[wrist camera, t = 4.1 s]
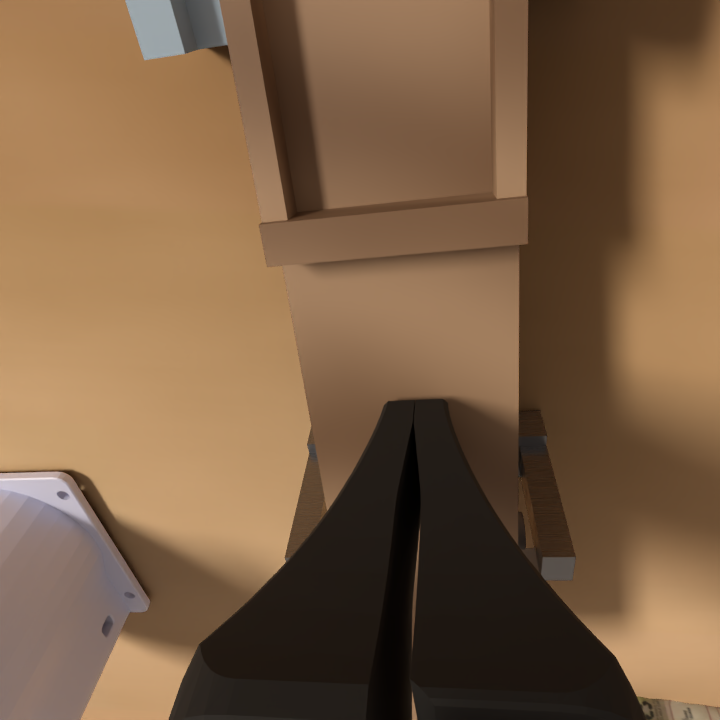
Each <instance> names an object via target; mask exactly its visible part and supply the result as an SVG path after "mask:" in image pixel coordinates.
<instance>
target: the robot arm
mask: <svg viewBox="0 0 720 720" xmlns="http://www.w3.org/2000/svg"><path fill="white" fill-rule="evenodd" d="M419 530H420V540H419ZM418 541H419V560H418V578H417V594H416V610H415V623H414V636H413V648H412V609H413V592H414V582H415V572H416V561H417V551H418ZM149 605H150V600H149V598H148V597H147V595H146V594H145V592H144V590H143V589H142V587H141V586H140V584H139V583H138V581H137V579H136V578H135V576H134V575H133V573H132V571H131V570H130V568H129V567H128V565H127V563H126V562H125V560H124V559H123V557H122V556H121V554H120V552H119V551H118V549H117V548H116V546H115V544H114V543H113V541H112V540H111V538H110V536H109V535H108V533H107V532H106V530H105V529H104V527H103V525H102V524H101V522H100V521H99V519H98V517H97V516H96V514H95V513H94V511H93V510H92V508H91V506H90V505H89V503H88V502H87V500H86V498H85V497H84V495H83V494H82V492H81V490H80V489H79V487H78V486H77V484H76V483H75V481H74V479H73V478H72V477H71V476H70V475H68V474H66V473H64V472H26V473H0V720H80V719H81V717H82V715H83V713H84V711H85V708H86V706H87V704H88V702H89V700H90V698H91V695H92V693H93V691H94V689H95V687H96V684H97V682H98V680H99V678H100V676H101V674H102V671H103V669H104V667H105V665H106V663H107V661H108V658H109V656H110V654H111V652H112V650H113V647H114V645H115V643H116V641H117V639H118V637H119V634H120V632H121V630H122V628H123V626H124V623H125V621H126V619H127V617H128V615H129V613H130V612H145V611H147V609H148V607H149ZM412 693H413V698H414V704H415V709H416V714H417V720H646V717H645V715H644V712H643V710H642V707H641V705H640V703H639V701H638V698H637V696H636V694H635V692H634V690H633V688H632V686H631V684H630V682H629V681H628V679H627V677H626V675H625V673H624V671H623V670H622V668H621V666H620V664H619V662H618V661H617V659H616V657H615V656H614V655H613V654H612V653H611V652H610V651H609V650H608V649H607V648H606V647H605V646H604V645H603V643H602V642H601V641H600V640H599V639H598V638H597V637H596V636H595V635H594V634H593V633H592V632H591V631H590V630H589V629H588V628H587V627H586V626H585V625H584V624H583V623H582V622H581V621H580V620H579V619H578V617H577V616H576V615H575V614H574V613H573V612H572V611H571V610H570V609H569V607H568V606H567V605H566V604H565V603H564V602H563V601H562V600H561V598H560V597H559V596H558V595H557V594H556V593H555V592H554V590H553V589H552V588H551V587H550V585H549V584H548V583H547V582H546V580H545V579H544V578H543V577H542V575H541V574H540V573H539V572H538V570H537V569H536V568H535V567H534V566H533V564H532V563H531V562H530V561H529V559H528V558H527V557H526V556H525V554H524V553H523V551H522V550H521V549H520V547H519V546H518V545H517V543H516V542H515V540H514V539H513V538H512V536H511V535H510V533H509V532H508V530H507V529H506V527H505V526H504V524H503V523H502V521H501V520H500V518H499V517H498V515H497V514H496V512H495V510H494V509H493V507H492V506H491V504H490V502H489V501H488V499H487V497H486V495H485V494H484V492H483V490H482V488H481V486H480V485H479V483H478V481H477V479H476V477H475V475H474V473H473V471H472V469H471V467H470V465H469V463H468V461H467V459H466V457H465V455H464V452H463V450H462V448H461V446H460V443H459V441H458V438H457V436H456V433H455V430H454V427H453V424H452V421H451V417H450V413H449V408H448V402H446V401H445V400H444V399H424V400H416V402H415V400H400V401H388V402H387V403H386V404H385V405H384V406H383V409H382V412H381V415H380V418H379V420H378V422H377V425H376V427H375V429H374V431H373V434H372V436H371V438H370V440H369V442H368V444H367V446H366V448H365V450H364V451H363V453H362V455H361V457H360V459H359V461H358V463H357V465H356V466H355V468H354V470H353V472H352V473H351V475H350V477H349V478H348V480H347V481H346V483H345V485H344V486H343V488H342V489H341V491H340V493H339V494H338V496H337V497H336V499H335V500H334V502H333V503H332V505H331V506H330V508H329V509H328V511H327V512H326V513H325V515H324V516H323V517H322V519H321V520H320V521H319V523H318V524H317V525H316V527H315V528H314V529H313V531H312V532H311V533H310V535H309V536H308V537H307V538H306V539H305V541H304V542H303V543H302V544H301V545H300V547H299V548H298V549H297V550H296V551H295V553H294V554H293V555H292V556H291V557H290V558H289V560H288V561H287V562H286V563H285V564H284V565H283V566H282V567H281V568H280V569H279V571H278V572H277V573H276V574H275V575H274V576H273V577H272V578H271V579H270V580H269V581H268V582H267V583H266V584H265V585H264V586H263V587H262V588H261V589H260V590H259V591H258V592H257V593H256V594H255V595H254V596H253V597H252V598H251V599H250V600H249V601H248V602H247V603H246V604H245V605H244V606H243V607H241V608H240V609H239V610H238V611H237V612H236V613H235V614H234V615H232V616H231V617H230V618H229V619H228V620H227V621H226V622H224V623H223V624H222V625H221V626H220V627H219V628H218V629H216V630H215V631H214V632H213V633H212V634H211V635H210V636H208V637H207V638H206V639H205V640H204V641H203V642H201V643H200V644H199V646H198V648H197V650H196V652H195V654H194V656H193V658H192V661H191V663H190V665H189V667H188V669H187V671H186V673H185V676H184V678H183V680H182V682H181V685H180V688H179V691H178V694H177V697H176V700H175V702H174V705H173V708H172V711H171V714H170V717H169V720H412Z"/></svg>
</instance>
